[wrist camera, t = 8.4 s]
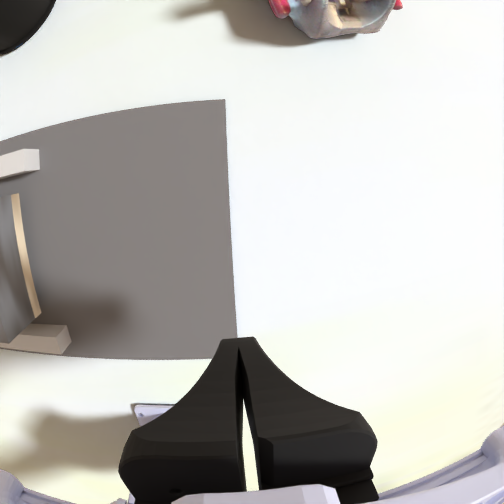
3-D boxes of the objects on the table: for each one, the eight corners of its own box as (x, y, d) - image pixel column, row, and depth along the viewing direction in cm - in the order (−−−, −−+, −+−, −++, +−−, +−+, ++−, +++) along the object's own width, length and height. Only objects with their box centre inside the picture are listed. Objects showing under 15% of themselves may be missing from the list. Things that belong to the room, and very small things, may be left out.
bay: (238, 354, 23) (241, 386, 19) (-41, 339, 20) (-59, 355, 17) (225, 100, 18) (225, 84, 14) (-75, 174, 16) (-99, 178, 12)
